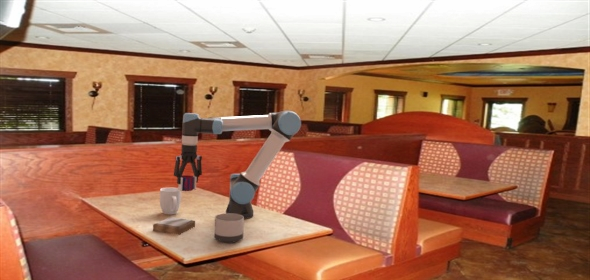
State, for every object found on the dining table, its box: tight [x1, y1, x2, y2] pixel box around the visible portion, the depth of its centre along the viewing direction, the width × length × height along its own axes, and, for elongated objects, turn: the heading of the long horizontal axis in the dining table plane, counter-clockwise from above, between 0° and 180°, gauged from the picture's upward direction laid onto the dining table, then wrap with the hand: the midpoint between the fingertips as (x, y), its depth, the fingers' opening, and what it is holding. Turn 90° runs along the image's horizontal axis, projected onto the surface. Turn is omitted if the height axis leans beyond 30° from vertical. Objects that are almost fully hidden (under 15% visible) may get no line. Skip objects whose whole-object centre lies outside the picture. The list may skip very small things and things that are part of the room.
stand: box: [152, 216, 196, 236], centre depth 202 cm, size 14×14×4 cm
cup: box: [181, 174, 194, 192], centre depth 212 cm, size 7×10×7 cm
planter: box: [213, 212, 245, 244], centre depth 190 cm, size 13×13×10 cm
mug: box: [159, 186, 182, 216], centre depth 227 cm, size 15×11×13 cm
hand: (187, 189), depth 213 cm, fingers closed on cup, 7 cm apart
